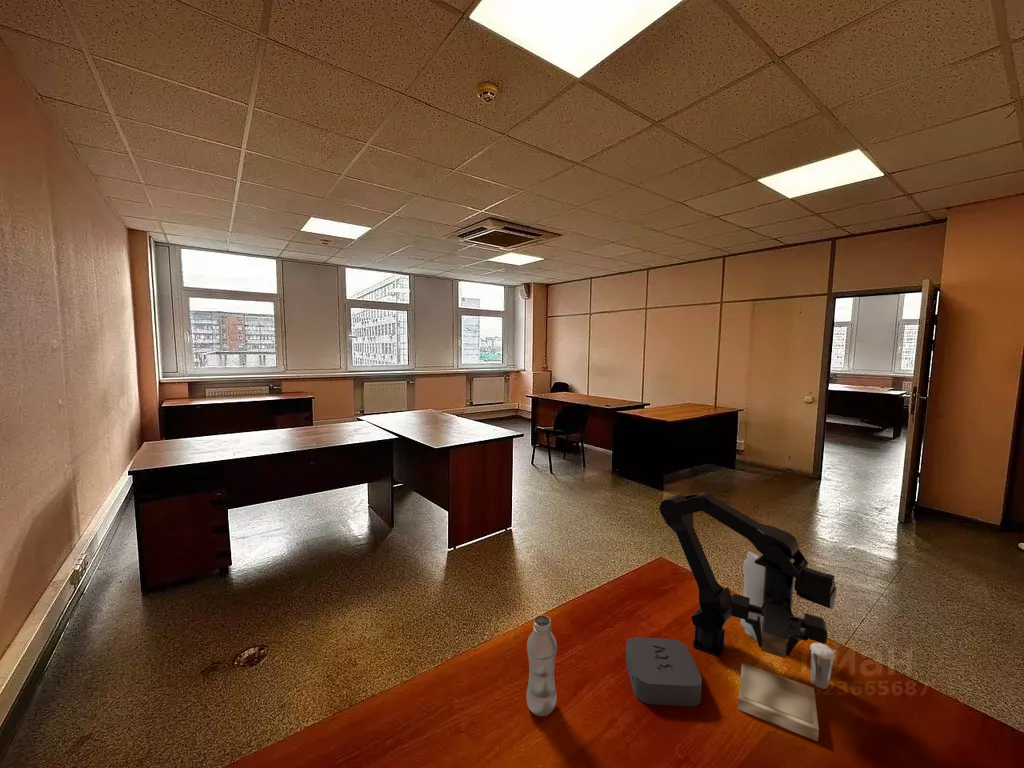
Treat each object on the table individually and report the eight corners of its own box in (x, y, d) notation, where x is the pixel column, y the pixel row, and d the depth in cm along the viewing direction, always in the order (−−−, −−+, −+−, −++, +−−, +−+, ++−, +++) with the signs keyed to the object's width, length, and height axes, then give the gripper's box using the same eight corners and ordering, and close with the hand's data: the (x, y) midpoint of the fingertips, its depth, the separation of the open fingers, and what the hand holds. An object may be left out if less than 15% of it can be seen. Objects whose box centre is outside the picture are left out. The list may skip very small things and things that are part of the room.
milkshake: (840, 693, 95) (843, 652, 94) (813, 689, 96) (816, 648, 95) (829, 677, 99) (832, 638, 98) (803, 674, 100) (807, 634, 99)
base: (737, 709, 91) (738, 697, 91) (741, 672, 101) (742, 661, 101) (817, 741, 84) (818, 729, 83) (813, 698, 94) (813, 687, 93)
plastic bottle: (559, 699, 93) (560, 614, 91) (552, 725, 87) (553, 634, 85) (531, 691, 95) (532, 607, 93) (522, 716, 89) (522, 627, 87)
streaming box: (704, 708, 91) (706, 686, 91) (636, 705, 92) (637, 683, 92) (682, 658, 106) (683, 639, 105) (623, 655, 106) (624, 636, 106)
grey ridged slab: (775, 647, 109) (781, 566, 107) (760, 648, 109) (766, 567, 107) (747, 620, 120) (752, 546, 118) (733, 621, 119) (738, 547, 117)
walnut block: (760, 650, 100) (762, 626, 100) (761, 638, 105) (762, 615, 104) (785, 658, 98) (787, 634, 97) (785, 645, 102) (786, 622, 101)
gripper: (729, 592, 95) (725, 657, 97) (832, 621, 85) (826, 692, 87) (733, 569, 105) (729, 629, 106) (826, 593, 95) (821, 658, 96)
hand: (773, 650), depth 99 cm, fingers closed on walnut block, 5 cm apart
